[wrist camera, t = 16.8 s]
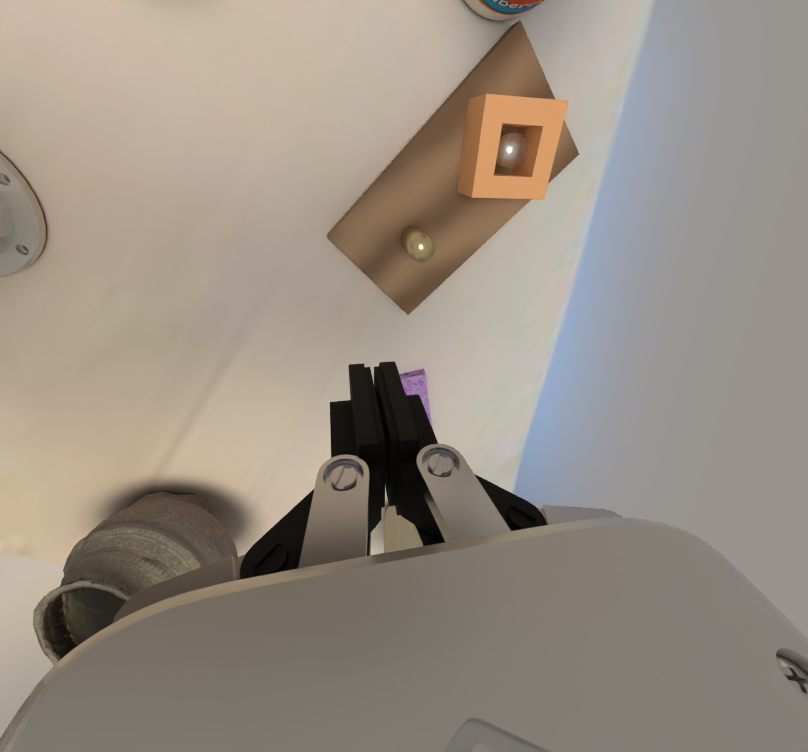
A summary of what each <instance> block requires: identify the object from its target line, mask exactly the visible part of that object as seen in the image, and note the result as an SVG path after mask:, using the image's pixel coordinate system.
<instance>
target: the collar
mask: <svg viewBox="0 0 808 752" xmlns="http://www.w3.org/2000/svg"><path fill="white" fill-rule="evenodd" d="M567 105H568V101H567V100H555V99H543V98H531V97H519V96H507V95H495V94H484V95H480V96H477V97H474V98H470V99H468V105H467V113H466V122H465V130H464V139H463V148H462V156H461V165H460V173H459V182H458V190H457V192H459V193H461V194H464V195H467V196H469V197H472V198H513V199H544V198H545V194H546V190H547V186H548V182H549V177H550V173H551V169H552V165H553V161H554V157H555V153H556V149H557V145H558V141H559V137H560V133H561V129H562V125H563V121H564V117H565V113H566V109H567ZM502 126H504V127H519V128H520V132H519V133H520V134H521V135H523V136H524V138H525V140H526V143H527V151H526V155H525V157H524V159H523V160H522V162H521V163H520V164H519V165H517V166H516V167H513V168H512V173H511V174H510V173H494V171H495V165H496V159H497V153H498V147H499V141H500V135H501V129H502Z"/></svg>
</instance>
